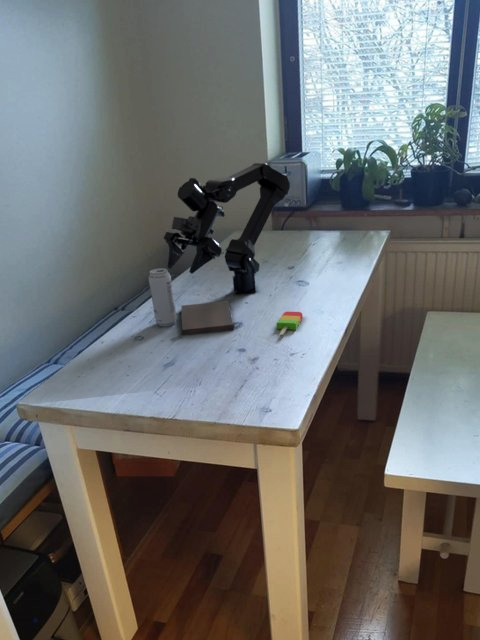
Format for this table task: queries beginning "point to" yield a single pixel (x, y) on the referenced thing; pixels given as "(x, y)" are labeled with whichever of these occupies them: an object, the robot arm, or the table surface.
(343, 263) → the table surface
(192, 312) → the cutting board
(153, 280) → the energy drink can
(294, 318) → the popsicle
